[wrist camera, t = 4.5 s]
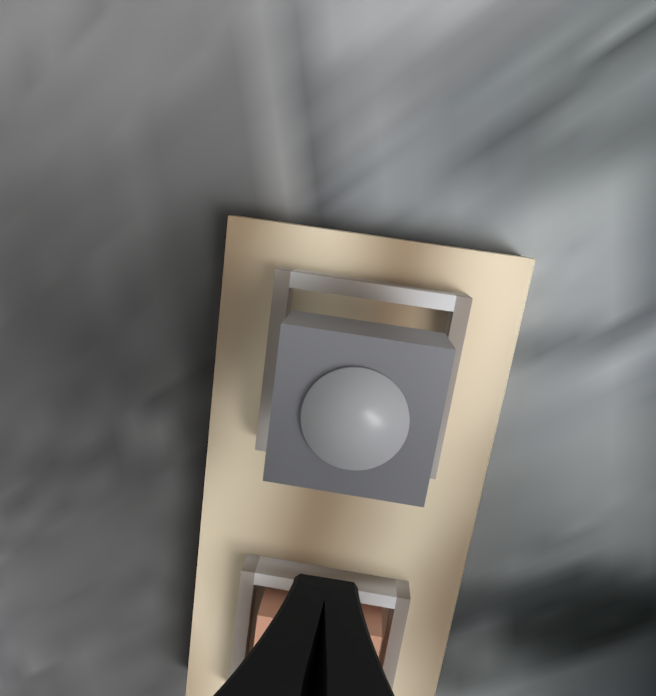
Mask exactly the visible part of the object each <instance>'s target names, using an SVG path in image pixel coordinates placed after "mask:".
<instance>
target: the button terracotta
mask: <svg viewBox="0 0 656 696" xmlns="http://www.w3.org/2000/svg"><path fill="white" fill-rule="evenodd" d="M288 592H289V591H288V590H282V589H276V588H270V587H265V590H264V594H263V597H262V601H261V604H260V608H259V611H258V615H257V622H256V630H255V638H254V646H255V644H256V643H257V642H258V640H259V639H260V638H261V636H262V635H263V633H264V632H265V630H266V629H267V627H268V626H269V624H270V623H271V621H272V620H273V618H274V617H275V615H276V613H277V612H278V610H279V608H280V607H281V605H282V603H283V601H284V600H285V598H286V596H287V594H288ZM361 607H362V610H363V614H364V617H365V621H366V624H367V627H368V630H369V633H370V636H371V639H372V642H373V645H374V647H375V650H376V653H377V655H378V657H379V652H380V647H381V642H382V607H380V606H374V605H368V604H362V603H361ZM254 646H253V647H254Z"/></svg>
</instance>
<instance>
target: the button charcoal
mask: <svg viewBox="0 0 656 696" xmlns="http://www.w3.org/2000/svg"><path fill="white" fill-rule="evenodd" d="M455 352H456V349H455V348H454V346H453V344H452V343H451V341H450V340H449V338H448V337H447V335H446V334H445V333H441V332H435V331H428V330H422V329H415V328H408V327H402V326H395V325H388V324H382V323H375V322H368V321H362V320H355V319H348V318H342V317H335V316H328V315H322V314H315V313H308V312H302V311H295V310H292V311H291V313H290V314H289V315H288V316H287V317H286V318H285V319H284V321H283V322H282V323H281V329H280V337H279V346H278V354H277V363H276V371H275V380H274V388H273V397H272V405H271V414H270V422H269V431H268V439H267V448H266V456H265V465H264V473H263V481H267V482H273V483H279V484H285V485H291V486H297V487H303V488H309V489H315V490H321V491H327V492H333V493H339V494H345V495H351V496H357V497H364V498H370V499H376V500H382V501H388V502H394V503H400V504H406V505H412V506H418V507H424V505H425V500H426V495H427V490H428V485H429V480H430V475H431V470H432V465H433V461H434V456H435V451H436V446H437V441H438V436H439V431H440V426H441V421H442V416H443V411H444V406H445V401H446V397H447V392H448V387H449V382H450V377H451V372H452V367H453V362H454V357H455Z"/></svg>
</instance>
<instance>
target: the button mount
mask: <svg viewBox="0 0 656 696" xmlns="http://www.w3.org/2000/svg"><path fill="white" fill-rule="evenodd" d="M535 260H536V259H532V258H528V257H524V256H517V255H510V254H503V253H496V252H489V251H482V250H475V249H468V248H462V247H455V246H448V245H441V244H434V243H427V242H420V241H413V240H406V239H399V238H392V237H385V236H378V235H371V234H364V233H357V232H350V231H343V230H336V229H329V228H322V227H315V226H308V225H301V224H294V223H287V222H280V221H273V220H266V219H259V218H252V217H245V216H231V215H228V222H227V234H226V245H225V256H224V268H223V279H222V290H221V302H220V313H219V324H218V335H217V347H216V358H215V369H214V381H213V392H212V403H211V415H210V426H209V437H208V449H207V460H206V471H205V483H204V494H203V505H202V517H201V528H200V539H199V551H198V562H197V573H196V584H195V596H194V607H193V618H192V630H191V641H190V652H189V664H188V675H187V686H186V696H213V695H214V694H215V693H216V692H217V691H218V690H219V689H220V688H221V686H222V685H223V684H224V683H225V682H226V681H227V680H228V678H229V677H230V676H231V675H232V674H233V673H234V671H235V670H236V669H237V668H238V666H239V665H240V664H241V663H242V661H243V660H244V659H245V657H246V656H247V655H248V653H249V652H250V651H251V650H252V648H253V646H254V638H255V630H256V622H257V615H258V611H259V608H260V604H261V601H262V597H263V594H264V590H265V587H270V588H276V589H282V590H288V591H289V590H290V588H291V586H292V583H293V581H294V578H295V577H296V576H297V575H299V574H306V575H313V576H319V577H325V578H332V579H338V580H344V581H351V582H354V583H355V584H356V586H357V587H358V592H359V598H360V602H361V603H362V604H368V605H374V606H380V607H382V642H381V647H380V652H379V657H378V658H379V661H380V663H381V666H382V668H383V670H384V673H385V675H386V678H387V680H388V682H389V684H390V686H391V689H392V691H393V693H394V695H395V696H435V692H436V688H437V684H438V679H439V675H440V671H441V666H442V662H443V658H444V654H445V649H446V645H447V641H448V636H449V632H450V628H451V623H452V619H453V615H454V610H455V606H456V602H457V597H458V593H459V589H460V584H461V580H462V576H463V571H464V567H465V563H466V558H467V554H468V550H469V545H470V541H471V537H472V532H473V528H474V524H475V519H476V515H477V511H478V506H479V502H480V498H481V493H482V489H483V485H484V480H485V476H486V472H487V467H488V463H489V459H490V454H491V450H492V446H493V441H494V437H495V433H496V429H497V424H498V420H499V416H500V411H501V407H502V403H503V398H504V394H505V390H506V385H507V381H508V377H509V372H510V368H511V364H512V359H513V355H514V351H515V346H516V342H517V338H518V333H519V329H520V325H521V320H522V316H523V312H524V307H525V303H526V299H527V294H528V290H529V286H530V281H531V277H532V273H533V268H534V264H535ZM292 310H295V311H302V312H308V313H315V314H322V315H328V316H335V317H342V318H348V319H355V320H362V321H368V322H375V323H382V324H388V325H395V326H402V327H408V328H415V329H422V330H428V331H435V332H441V333H445V334H446V335H447V337H448V338H449V340H450V341H451V343H452V344H453V346H454V348H455V349H456V352H455V357H454V362H453V367H452V372H451V377H450V382H449V387H448V392H447V397H446V401H445V406H444V411H443V416H442V421H441V426H440V431H439V436H438V441H437V446H436V451H435V456H434V461H433V465H432V470H431V475H430V480H429V485H428V490H427V495H426V500H425V505H424V507H418V506H412V505H406V504H400V503H394V502H388V501H382V500H376V499H370V498H364V497H357V496H351V495H345V494H339V493H333V492H327V491H321V490H315V489H309V488H303V487H297V486H291V485H285V484H279V483H273V482H267V481H263V473H264V465H265V456H266V448H267V439H268V431H269V422H270V414H271V405H272V397H273V388H274V380H275V371H276V363H277V354H278V346H279V337H280V329H281V323H282V322H283V321H284V319H285V318H286V317H287V316H288V315H289V314H290V313H291V311H292Z"/></svg>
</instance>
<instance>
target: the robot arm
mask: <svg viewBox="0 0 656 696" xmlns="http://www.w3.org/2000/svg"><path fill="white" fill-rule="evenodd" d="M213 696H395V695H394V693H393V691H392V689H391V686H390V684H389V682H388V680H387V678H386V675H385V673H384V670H383V668H382V666H381V663H380V661H379V658H378V655H377V653H376V650H375V647H374V645H373V642H372V639H371V636H370V633H369V630H368V627H367V624H366V621H365V617H364V614H363V610H362V607H361V602H360V598H359V592H358V587H357V586H356V584H355V583H354V582H351V581H344V580H338V579H332V578H325V577H319V576H313V575H306V574H299V575H297V576H296V577H295V578H294V581H293V583H292V586H291V588H290V590H289V592H288V594H287V596H286V598H285V600H284V601H283V603H282V605H281V607H280V608H279V610H278V612H277V613H276V615H275V617H274V618H273V620H272V621H271V623H270V624H269V626H268V627H267V629H266V630H265V632H264V633H263V635H262V636H261V638H260V639H259V640H258V642H257V643H256V644H255V646H254V647H253V648H252V650H251V651H250V652H249V653H248V655H247V656H246V657H245V659H244V660H243V661H242V663H241V664H240V665H239V666H238V668H237V669H236V670H235V671H234V673H233V674H232V675H231V676H230V677H229V678H228V680H227V681H226V682H225V683H224V684H223V685H222V686H221V688H220V689H219V690H218V691H217V692H216V693H215V694H214V695H213Z"/></svg>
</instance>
